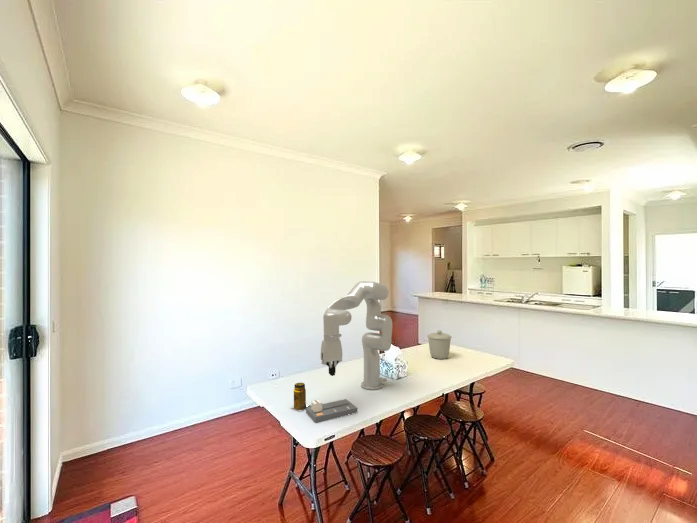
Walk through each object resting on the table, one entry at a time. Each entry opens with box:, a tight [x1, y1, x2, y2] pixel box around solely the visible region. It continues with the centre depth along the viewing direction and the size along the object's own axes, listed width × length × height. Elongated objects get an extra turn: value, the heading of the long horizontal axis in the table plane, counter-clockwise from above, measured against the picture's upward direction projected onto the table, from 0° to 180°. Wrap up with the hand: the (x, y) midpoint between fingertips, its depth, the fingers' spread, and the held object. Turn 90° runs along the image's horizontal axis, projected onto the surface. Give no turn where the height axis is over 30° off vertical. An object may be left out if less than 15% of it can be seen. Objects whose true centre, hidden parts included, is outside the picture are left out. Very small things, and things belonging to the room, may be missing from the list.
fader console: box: [305, 398, 358, 424], centre depth 164 cm, size 22×12×3 cm, turn 118°
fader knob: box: [310, 399, 323, 413], centre depth 161 cm, size 4×4×4 cm
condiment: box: [293, 382, 311, 412], centre depth 171 cm, size 7×8×12 cm
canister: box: [427, 329, 452, 360], centre depth 260 cm, size 18×18×21 cm
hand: (332, 374), depth 165 cm, fingers closed
